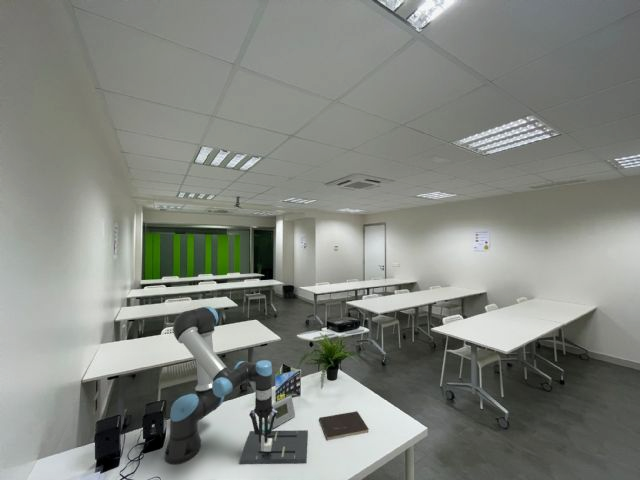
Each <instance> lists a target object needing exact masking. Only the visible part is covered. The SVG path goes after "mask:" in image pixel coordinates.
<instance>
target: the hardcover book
mask: <svg viewBox="0 0 640 480" xmlns="http://www.w3.org/2000/svg"><path fill="white" fill-rule="evenodd" d="M318 421H319V422H320V425H321V428H322V430H323V433H324V435H325V438H326V440H327V441H329V440H335V439H339V438H345V437H350V436H356V435H360V434H366V433H369V430H370V428H369V427H368V426H367V424H366V423H365V421H364V419H363V417H361V415H360V413H359V412H358V410H357V411H351V412H346V413H345V412H344V413H339V414H338V413H337V414H334V415H333V414H332V415H328V416H321V417H319V418H318Z"/></svg>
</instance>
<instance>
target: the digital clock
mask: <svg viewBox="0 0 640 480" xmlns="http://www.w3.org/2000/svg"><path fill="white" fill-rule="evenodd" d="M272 407H273V409H274V410H277V415H276V417H275V418H274V423H273V427H272V429H275V428H277V427H279V426H281V425H283V424H284V423H286V422H287V421H290V420H291V419H292V418H294V417H295V416H296V411H295V407H294V401H293V397H292V395H288V396H286V397H283V398H282V399H278V400H277V401H275V402H273V403H272ZM268 418H269V424H271V419H272V412H271V413H270V415H269V416H268Z"/></svg>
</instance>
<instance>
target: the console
mask: <svg viewBox="0 0 640 480" xmlns="http://www.w3.org/2000/svg"><path fill="white" fill-rule="evenodd" d="M308 436H309V431H308V430H306V429H304V430H303V429H302V430H300V429H299V430H272V431H271V434H268V438H272V447H271V451H269V452H267V451H261V443H259V435H258V434H257V435H255V432H254V430H250V431H249V433H248V436H247V437H246V438H247V439H246V441H245V444H244V447H243V449H242V452H241V455H240V458H239V459H238V460H239V463H238V464H239V465H277V464H280V465H284V464H287V465H289V464H296V465H297V464H307V462H308V461H307V459H308V441H309V440H308V439H309V437H308Z"/></svg>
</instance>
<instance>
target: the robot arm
mask: <svg viewBox="0 0 640 480" xmlns="http://www.w3.org/2000/svg"><path fill="white" fill-rule="evenodd" d="M218 322H219V315H218V312H217V311H216V309H215V308H213V307H212V306H201V307H198V308H194V309H189V310H185V311H183V312H181V313H179V314H178V315H177V316H176V318H175V319H174V321H173V326H172V334H173V336H174V337H175V339H176V341H177V342H178V344H183V346H184V347H185V348H186V349H187V350H188V351H189V353H190V354H191V355H192V356H193V358H194V359H195V362H196V374H197V385H196V386H195V388H194V391H195V392H194V393H188V394H185V395H183V396H182V395H181V397H179V398H177V400H175V401H174V402H173V403H172V405H171V408H170V414H169V418H170V421H169V439H168V442H167V444H166V448H165V450H164V460H165V461H166V463H168V464H170V465H171V464H172V465H177V464H179V465H180V464H183V463H185V462H188V461H189V460H191V459H193V458H194V457H195V456H196V455H197V454H198V453H199V452H200V450H201V447H202V438H201V437H200V433H199V430H198V423H199V421H200V420H202V419H204V418H205V417H206V416H208V415H209V414H211V413H212V412H213V411H216V410H217V409H218V407H220V406H221V405H222V404H223V403H224V400H225V396H226V395H228V394H230V393H231V392H232V391H234V390H235V389H236V388H239V387H240V386H241V385H243V384H245V383H247V382H251V383H255V391H254V392H255V397H254V398H255V401H254V403H255V405H254V409H253V410H250V412H249V418H251V419H250V420H251V423H252V427H253V431H254V432H255V435H257V434H258V435H259V443H261V451H264V444H265V442H267V440H268V434H271V431H273V430H272V427H273V423H274V418H275V417H276V415H277V410H274V409H273V407H272V404H273V398H272V396H273V395H272V394H273V386H272V385H273V384H272V383H273V382H272V380H273V368H272V367H273V366H272V364H273V363H272V361H270V360H265V359H263V360H262V359H261V360H258V361H257V362H256V363H254V362H248V361H240V360H239V361H238V362H237V363H236V365H235V366H234V367H233V369H232V370H230V369H229V368H228V367H227V366H226V364H225V363H224V362H223V361H222V359H221V358H220V357H219V356H218V355H217V354H216V352H215V351H214V344H213V342H214V341H213V334H214V332H215V326H217V324H218ZM271 412H272V419H271V424H270V423H269V415H270V413H271ZM257 417H258V420H257ZM263 421H264V423H263ZM268 424H270V428H269V429H268ZM263 426H264V432H262V431H263Z"/></svg>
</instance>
